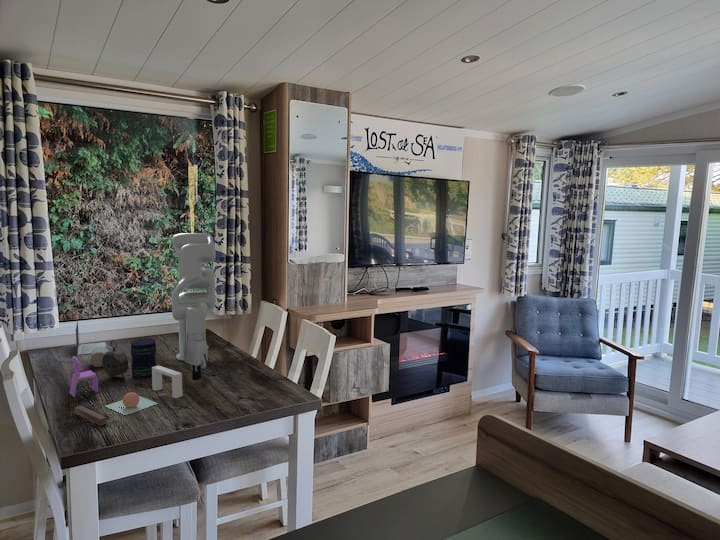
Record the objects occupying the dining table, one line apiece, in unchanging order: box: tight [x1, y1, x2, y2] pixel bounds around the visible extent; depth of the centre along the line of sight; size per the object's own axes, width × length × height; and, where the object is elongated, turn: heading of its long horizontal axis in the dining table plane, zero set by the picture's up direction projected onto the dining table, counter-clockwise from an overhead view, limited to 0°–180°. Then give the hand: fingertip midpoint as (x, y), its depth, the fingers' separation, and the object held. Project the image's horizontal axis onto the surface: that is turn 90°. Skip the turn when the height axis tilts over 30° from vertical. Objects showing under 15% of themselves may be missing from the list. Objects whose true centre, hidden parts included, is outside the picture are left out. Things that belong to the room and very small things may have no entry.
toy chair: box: [68, 356, 99, 398], centre depth 194 cm, size 8×9×15 cm
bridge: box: [151, 364, 183, 399], centre depth 196 cm, size 3×14×9 cm, turn 56°
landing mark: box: [104, 395, 159, 416], centre depth 184 cm, size 13×13×1 cm
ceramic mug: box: [89, 346, 110, 368], centre depth 227 cm, size 11×8×8 cm
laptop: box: [75, 320, 107, 356], centre depth 249 cm, size 18×12×13 cm
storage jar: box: [130, 338, 158, 381], centre depth 214 cm, size 10×10×15 cm
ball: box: [122, 391, 140, 408], centre depth 182 cm, size 6×6×6 cm
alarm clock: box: [102, 340, 129, 380], centre depth 210 cm, size 11×5×16 cm, turn 65°
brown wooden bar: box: [74, 405, 107, 426], centre depth 172 cm, size 2×16×2 cm, turn 56°
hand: (196, 379), depth 208 cm, fingers closed
